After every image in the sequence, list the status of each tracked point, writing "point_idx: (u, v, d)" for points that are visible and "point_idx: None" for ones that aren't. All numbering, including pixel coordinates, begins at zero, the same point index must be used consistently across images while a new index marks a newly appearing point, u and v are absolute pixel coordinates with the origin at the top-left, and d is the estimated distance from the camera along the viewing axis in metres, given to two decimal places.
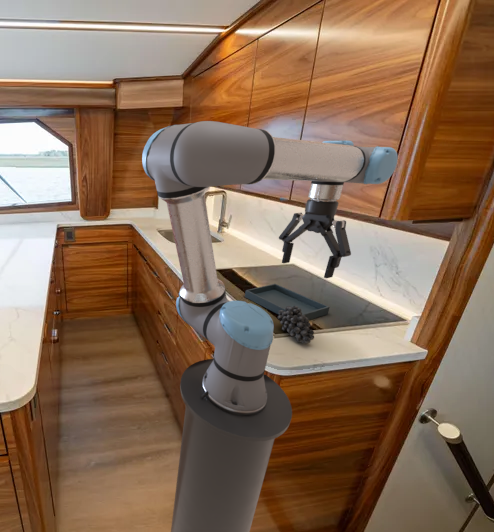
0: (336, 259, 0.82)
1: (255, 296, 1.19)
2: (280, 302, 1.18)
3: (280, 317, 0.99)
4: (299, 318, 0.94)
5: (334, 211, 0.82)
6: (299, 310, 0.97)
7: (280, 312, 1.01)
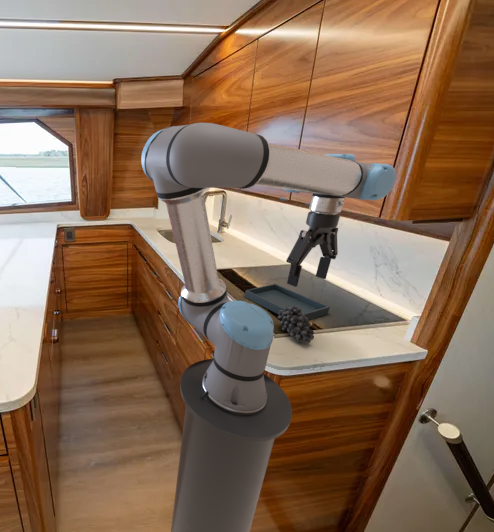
0: None
1: (255, 296, 1.19)
2: (280, 302, 1.18)
3: (280, 317, 0.99)
4: (299, 318, 0.94)
5: (314, 223, 0.83)
6: (299, 310, 0.97)
7: (280, 312, 1.01)
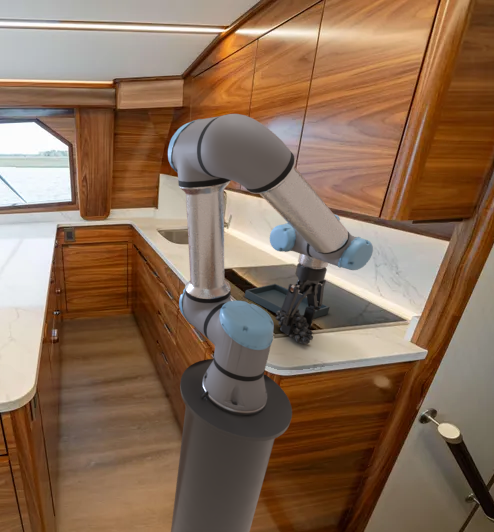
0: None
1: (255, 296, 1.19)
2: (280, 302, 1.18)
3: (278, 318, 0.99)
4: (297, 319, 0.94)
5: (302, 275, 0.88)
6: (297, 310, 0.97)
7: (278, 313, 1.01)
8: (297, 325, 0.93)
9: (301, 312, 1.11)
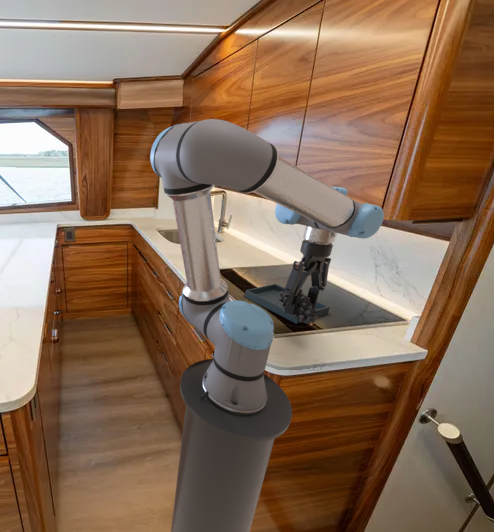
0: None
1: (255, 296, 1.19)
2: (280, 302, 1.18)
3: (281, 298, 0.96)
4: (301, 298, 0.92)
5: (307, 252, 0.86)
6: (300, 290, 0.94)
7: (280, 293, 0.98)
8: (301, 304, 0.90)
9: None
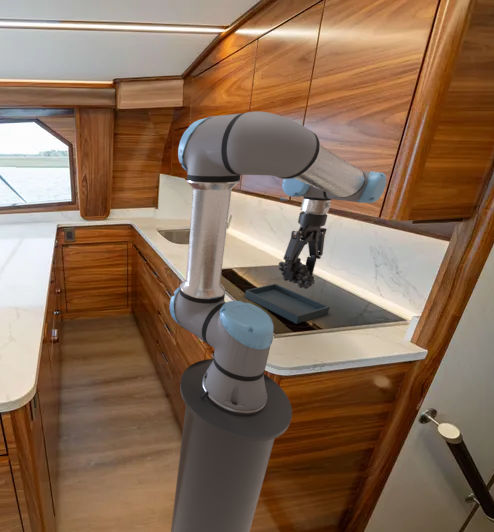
0: None
1: (255, 296, 1.19)
2: (280, 302, 1.18)
3: (281, 267, 1.05)
4: (300, 266, 1.00)
5: (304, 222, 0.94)
6: (299, 259, 1.03)
7: (280, 263, 1.07)
8: (299, 271, 0.99)
9: (301, 312, 1.11)
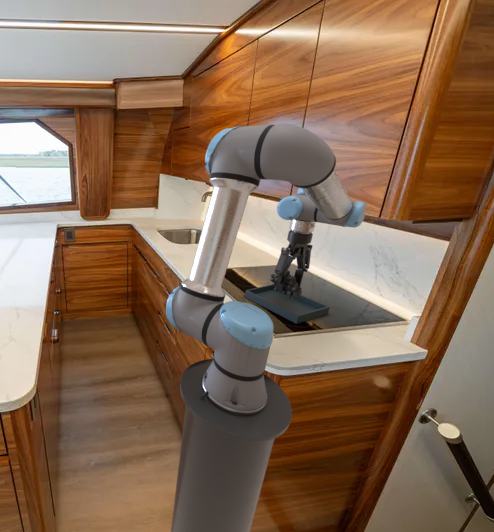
0: None
1: (255, 296, 1.19)
2: (280, 302, 1.18)
3: (272, 279, 1.17)
4: (289, 278, 1.12)
5: (292, 239, 1.06)
6: (288, 272, 1.15)
7: (272, 275, 1.19)
8: (289, 283, 1.11)
9: (301, 312, 1.11)
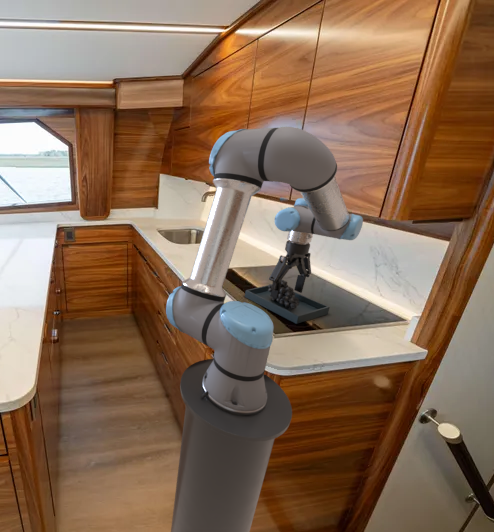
0: None
1: (255, 296, 1.19)
2: None
3: (270, 289, 1.18)
4: (286, 289, 1.14)
5: (290, 250, 1.08)
6: (285, 282, 1.17)
7: (270, 286, 1.20)
8: (286, 294, 1.12)
9: (301, 312, 1.11)
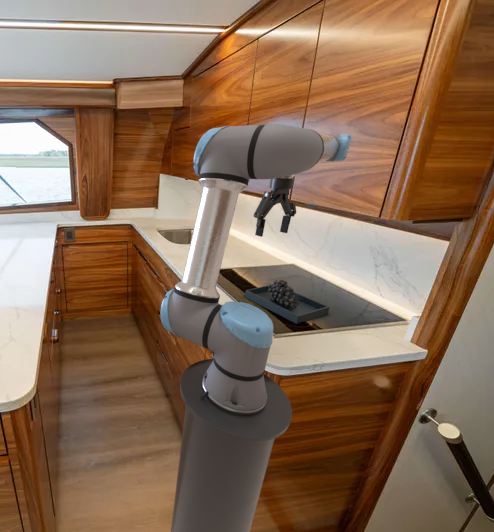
0: None
1: (255, 296, 1.19)
2: None
3: (270, 289, 1.18)
4: (286, 289, 1.14)
5: (274, 185, 1.08)
6: (285, 282, 1.17)
7: (270, 286, 1.20)
8: (286, 294, 1.12)
9: (301, 312, 1.11)
